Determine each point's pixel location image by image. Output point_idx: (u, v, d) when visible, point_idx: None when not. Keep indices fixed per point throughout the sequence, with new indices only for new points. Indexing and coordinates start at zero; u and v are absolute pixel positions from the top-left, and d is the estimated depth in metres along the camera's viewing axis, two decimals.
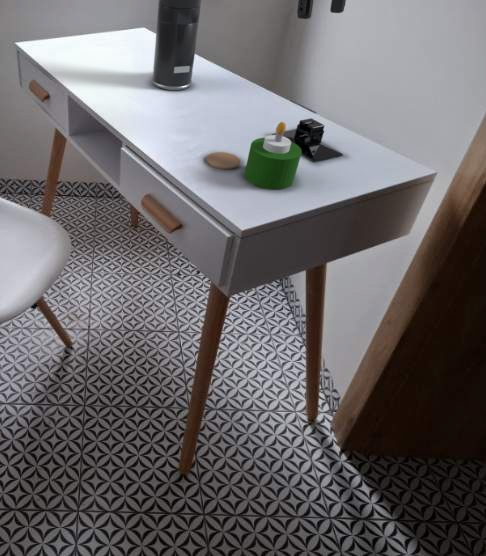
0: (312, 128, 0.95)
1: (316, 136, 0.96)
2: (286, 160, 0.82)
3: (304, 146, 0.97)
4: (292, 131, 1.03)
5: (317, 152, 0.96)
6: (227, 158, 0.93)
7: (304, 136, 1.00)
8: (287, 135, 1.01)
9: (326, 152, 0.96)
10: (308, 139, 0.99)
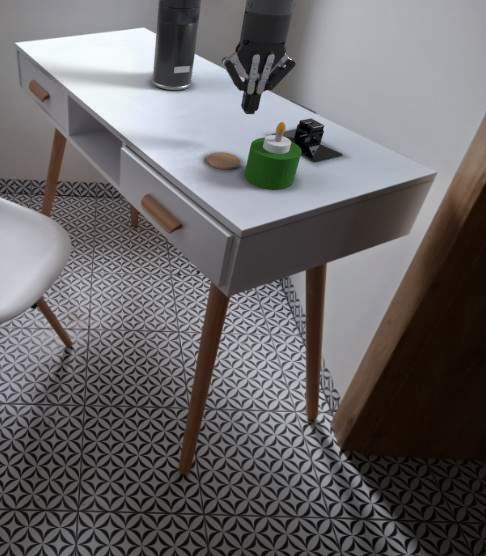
0: (312, 128, 0.95)
1: (316, 136, 0.96)
2: (286, 160, 0.82)
3: (304, 146, 0.97)
4: (292, 131, 1.03)
5: (317, 152, 0.96)
6: (227, 158, 0.93)
7: (304, 136, 1.00)
8: (287, 135, 1.01)
9: (326, 152, 0.96)
10: (308, 139, 0.99)
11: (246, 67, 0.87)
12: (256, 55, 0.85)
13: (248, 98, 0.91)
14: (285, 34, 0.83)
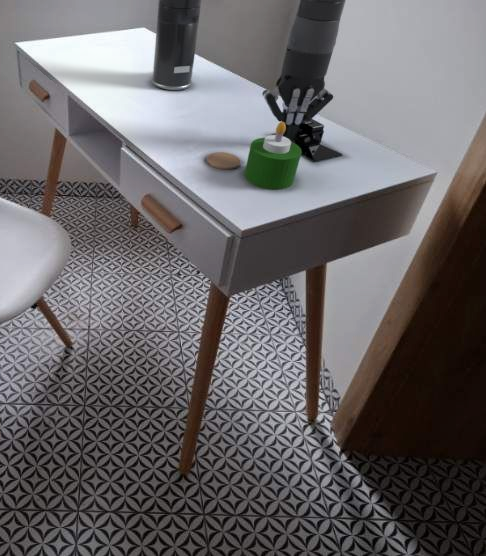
0: (312, 128, 0.95)
1: (316, 136, 0.96)
2: (286, 160, 0.82)
3: (304, 146, 0.97)
4: None
5: (317, 152, 0.96)
6: (227, 158, 0.93)
7: (304, 136, 1.00)
8: None
9: (326, 152, 0.96)
10: (308, 139, 0.99)
11: (286, 99, 0.92)
12: (296, 89, 0.90)
13: (286, 128, 0.96)
14: (325, 70, 0.87)
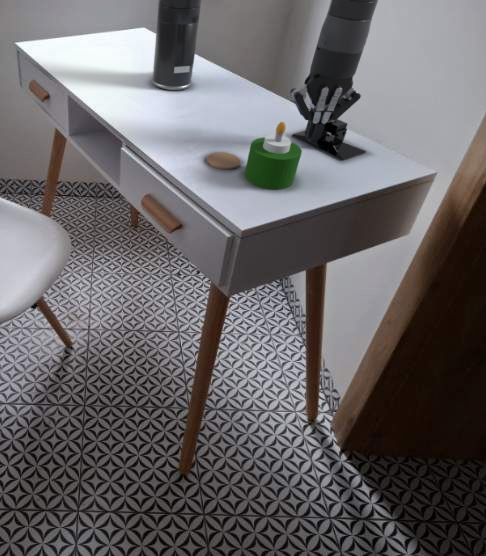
0: (336, 127, 0.96)
1: (340, 134, 0.97)
2: (286, 160, 0.82)
3: (328, 145, 0.98)
4: None
5: (342, 150, 0.97)
6: (227, 158, 0.93)
7: (325, 135, 1.00)
8: None
9: (350, 150, 0.97)
10: (330, 138, 0.99)
11: (314, 98, 0.92)
12: (325, 88, 0.90)
13: (313, 127, 0.96)
14: (355, 70, 0.88)
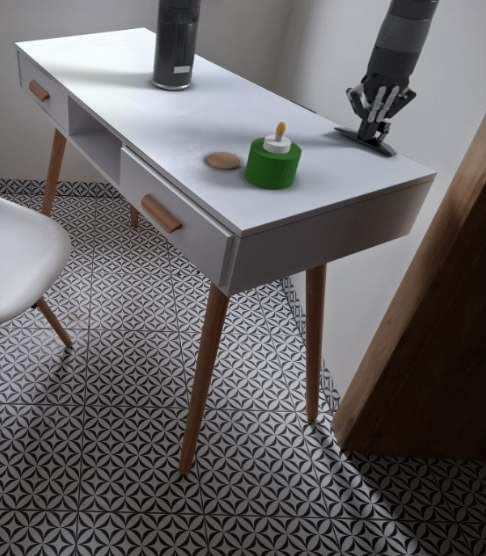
0: (385, 123, 0.97)
1: (384, 132, 0.99)
2: (286, 160, 0.82)
3: (373, 141, 0.99)
4: (347, 128, 1.05)
5: (387, 147, 0.98)
6: (227, 158, 0.93)
7: None
8: (349, 130, 1.02)
9: (392, 149, 0.99)
10: None
11: (370, 97, 0.93)
12: (382, 87, 0.91)
13: (367, 125, 0.97)
14: (413, 68, 0.88)
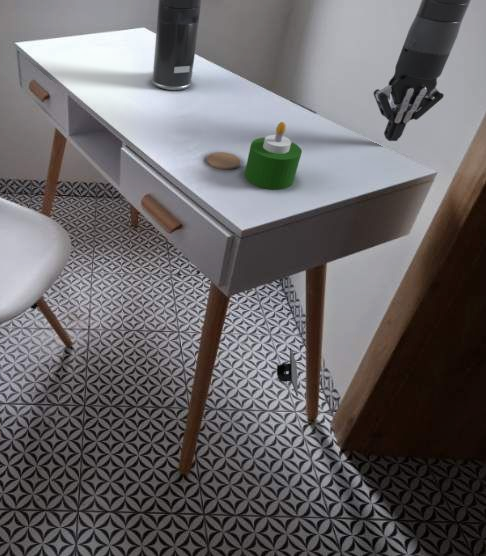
0: None
1: (284, 378, 1.46)
2: (286, 160, 0.82)
3: None
4: None
5: None
6: (227, 158, 0.93)
7: (289, 367, 1.48)
8: None
9: None
10: None
11: (398, 99, 0.94)
12: (411, 88, 0.92)
13: (394, 126, 0.98)
14: (442, 70, 0.90)
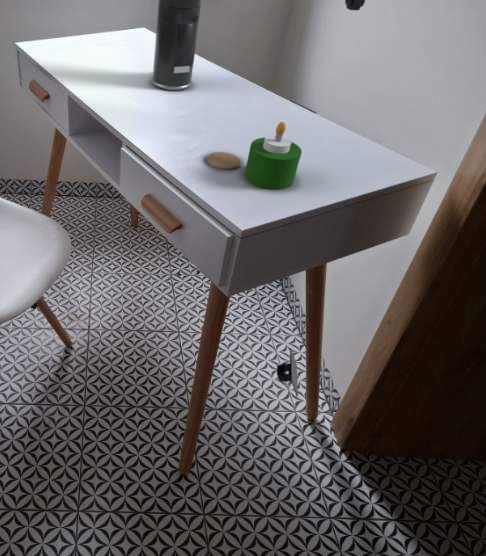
0: None
1: (284, 378, 1.46)
2: (286, 160, 0.82)
3: None
4: None
5: None
6: (227, 158, 0.93)
7: (289, 367, 1.48)
8: None
9: None
10: None
11: None
12: None
13: None
14: None
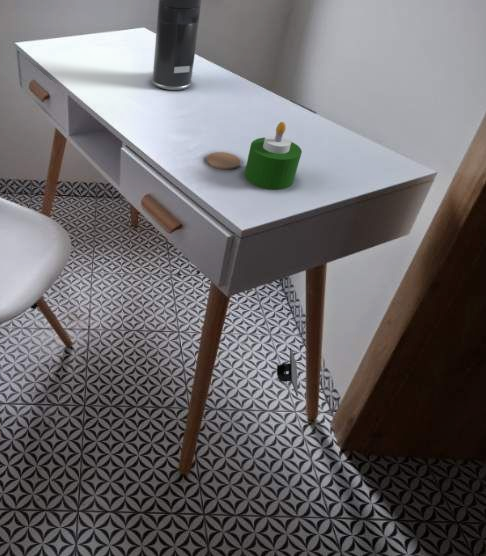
0: None
1: (284, 378, 1.46)
2: (286, 160, 0.82)
3: None
4: None
5: None
6: (227, 158, 0.93)
7: (289, 367, 1.48)
8: None
9: None
10: None
11: None
12: None
13: None
14: None
